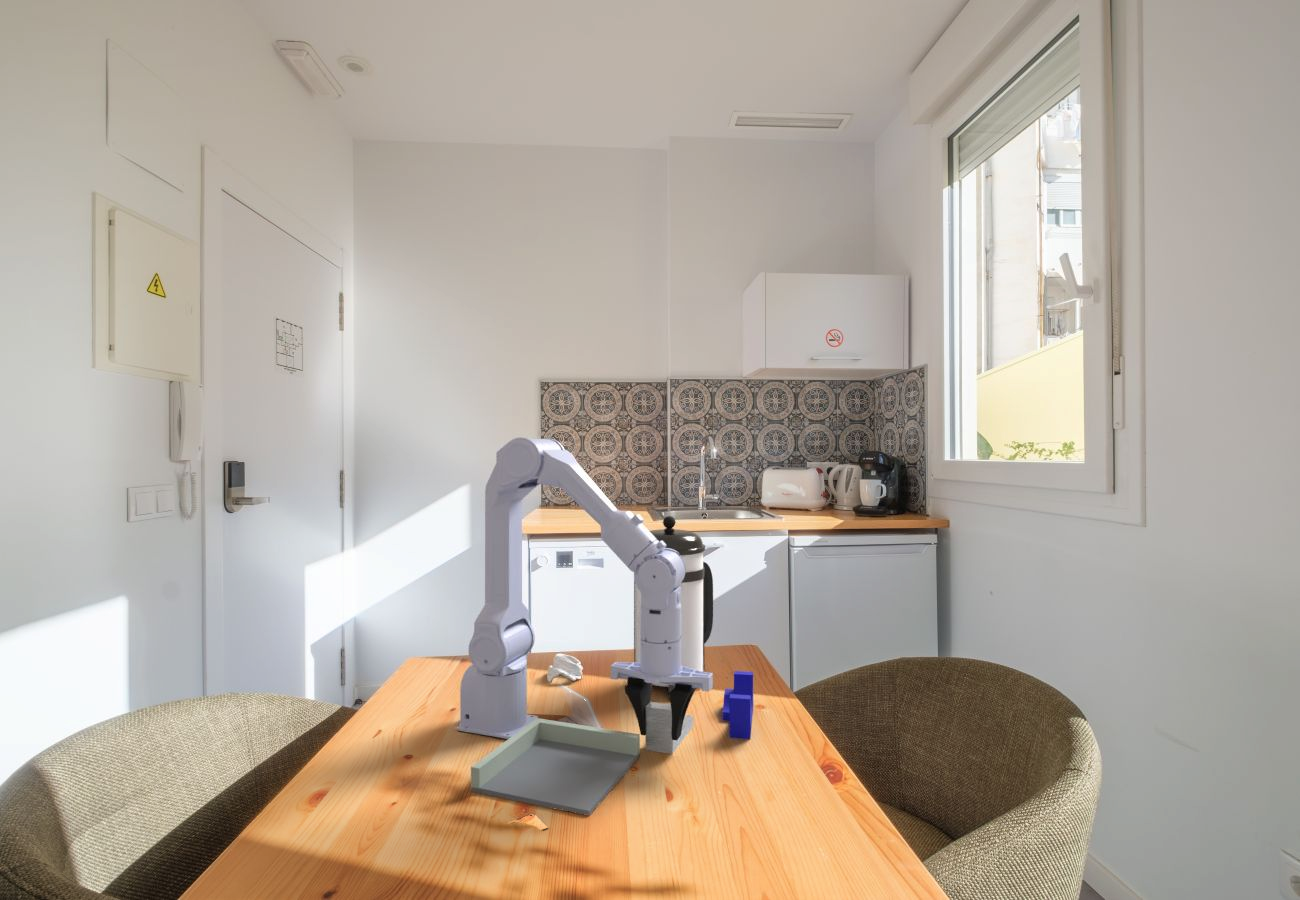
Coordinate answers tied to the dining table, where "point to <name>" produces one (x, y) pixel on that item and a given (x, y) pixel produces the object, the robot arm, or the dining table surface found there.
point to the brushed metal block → (663, 728)
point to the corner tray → (557, 765)
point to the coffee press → (685, 597)
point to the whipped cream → (565, 667)
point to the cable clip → (739, 705)
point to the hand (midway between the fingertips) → (660, 734)
